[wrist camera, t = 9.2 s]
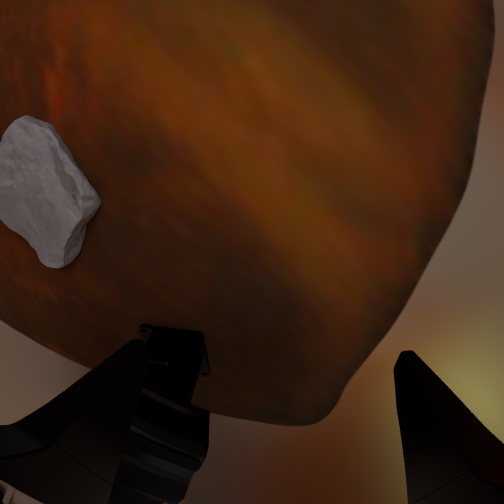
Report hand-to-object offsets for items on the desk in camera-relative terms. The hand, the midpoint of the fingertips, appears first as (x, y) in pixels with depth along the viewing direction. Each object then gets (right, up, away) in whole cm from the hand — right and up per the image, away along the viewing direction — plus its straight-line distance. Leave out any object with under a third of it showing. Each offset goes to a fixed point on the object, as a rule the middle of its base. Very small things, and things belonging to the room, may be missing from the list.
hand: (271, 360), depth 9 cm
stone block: (-18, +10, +11) cm, 23 cm away
